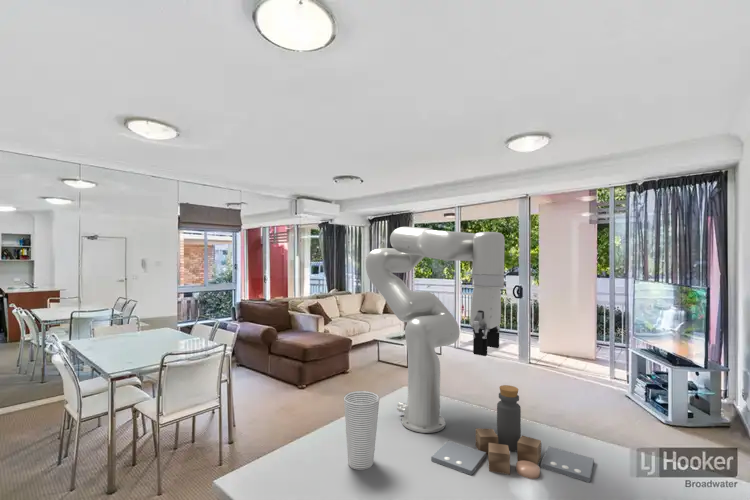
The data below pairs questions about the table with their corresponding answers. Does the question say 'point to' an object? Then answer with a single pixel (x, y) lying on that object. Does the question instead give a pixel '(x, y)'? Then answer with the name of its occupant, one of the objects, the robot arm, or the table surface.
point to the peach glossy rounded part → (528, 469)
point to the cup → (361, 427)
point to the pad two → (459, 457)
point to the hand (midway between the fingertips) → (486, 350)
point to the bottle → (508, 417)
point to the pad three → (568, 463)
